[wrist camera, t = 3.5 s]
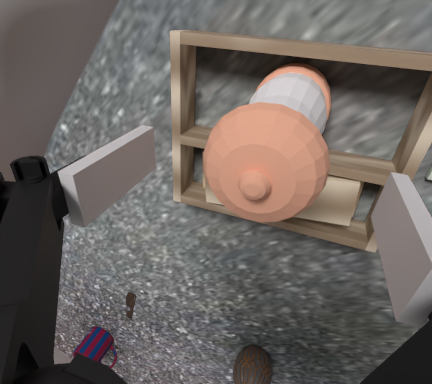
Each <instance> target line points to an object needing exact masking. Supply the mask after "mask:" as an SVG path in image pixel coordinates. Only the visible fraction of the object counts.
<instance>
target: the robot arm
mask: <svg viewBox="0 0 432 384" xmlns="http://www.w3.org/2000/svg"><path fill="white" fill-rule="evenodd" d="M10 166H11V168H12V171H13V174H14V177H15V179H16V182H10V181H5V180H4V178H3V175H2V173H1V172H0V384H127V383H126V382H125V381H124V380H123V379H122V378H120V377H119V376H118V375H117V374H116V373H115V372H114V371H113V370H112V369H111V368H110V367H109V366H106V365H104V364H102V363H100V362H97V361H95V360H93V359H90V358H88V357H86V356H83V355H81V354H79V353H77V354H76V356H75V357H74V358H73V360H72V361H71V362H70V363H66V364H55V365H54V359H53V358H54V357H53V354H54V340H55V328H56V316H57V304H58V293H59V281H60V269H61V257H62V245H63V233H64V221H63V217H64V216H65V215H67V214H68V213H69V216H70V220H71V223H72V224H75V225H78V226H82V227H86V226H87V225H89V224H90V223H91V222H92V221H93V220H95V219H96V218H97V217H98V216H99V215H100V214H102V213H103V212H104V211H105V210H106V209H108V208H109V207H110V206H111V205H112V204H113V203H115V202H116V201H117V200H118V199H119V198H121V197H122V196H123V195H124V194H125V193H126V192H128V191H129V190H130V189H131V188H132V187H134V186H135V185H136V184H137V183H138V182H139V181H141V180H142V179H143V178H144V177H145V176H147V175H148V174H149V173H150V172H151V171H152V170H154V169H155V168H156V166H155V147H154V129H153V127H149V126H144V125H142V126H140V127H138V128H136V129H134V130H132V131H131V132H129V133H127V134H125V135H123V136H122V137H120V138H118V139H116V140H114V141H112V142H111V143H109V144H107V145H105V146H103V147H102V148H100V149H98V150H96V151H94V152H92V153H91V154H89V155H86V156H82V157H81V158H79V159H77V160H75V162H74V161H73V162H71V163H70V164H69V165H66V166H64V167H62V168H60V169H59V170H57V171H55V172H53V173H51V174H50V172H49V169H48V165H47V162H46V158H44V157H41V156H27V157H22V158H19V159H16V160H14V161H13V162H11V164H10ZM371 220H372V224H373V228H374V233H375V237H376V241H377V245H378V249H379V253H380V258H381V262H382V266H383V270H384V274H385V278H386V283H387V287H388V291H389V295H390V299H391V303H392V308H393V312H394V316H395V320H396V322H400V323H403V324H406V325H409V326H413V327H416V328H419V329H420V328H421V327H422V326H423V324H424V323H425V322H426V320H427V319H428V318H429V322H427V323H426V324H425V325H424V326H423V327H422V328H421V329H420V330H419V331H417V332H416V333H415V334H414V335H413V336H412V337H411V338H410V339H408V340H407V341H406V342H405V343H404V344H403V345H402V346H401V347H400V348H398V349H397V350H396V351H395V352H394V353H393V354H392V355H391V356H390V357H388V358H387V359H386V360H385V361H384V362H383V363H382V364H381V365H380V366H378V367H377V368H376V369H375V370H374V371H373V372H372V373H371V374H370V375H368V376H367V377H366V378H365V379H364V380H363V381H362V382H361V383H360V384H432V218H431V216H430V214H429V212H428V210H427V209H426V207H425V205H424V203H423V201H422V200H421V198H420V196H419V194H418V192H417V191H416V189H415V187H414V185H413V183H412V182H411V180H410V178H409V176H408V175H405V174H400V173H394V172H390V175H389V177H388V179H387V181H386V183H385V186H384V188H383V190H382V192H381V194H380V197H379V199H378V201H377V203H376V206H375V208H374V210H373V212H372V214H371Z"/></svg>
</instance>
